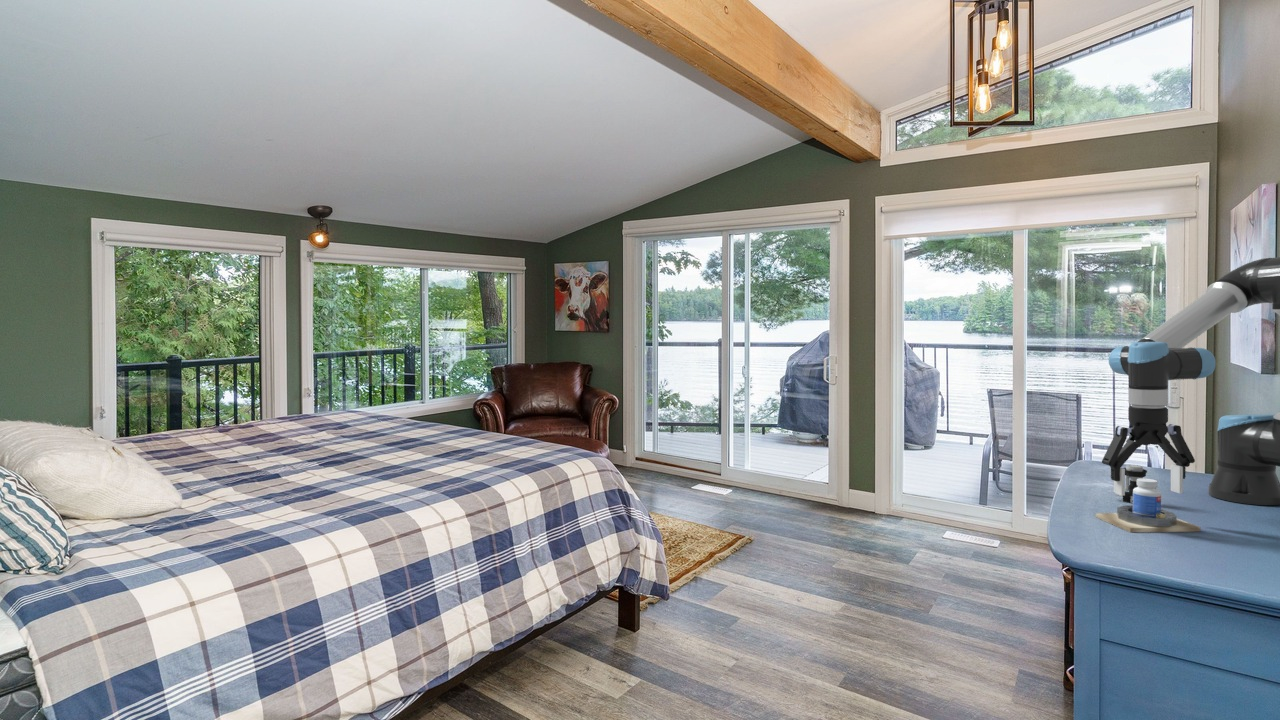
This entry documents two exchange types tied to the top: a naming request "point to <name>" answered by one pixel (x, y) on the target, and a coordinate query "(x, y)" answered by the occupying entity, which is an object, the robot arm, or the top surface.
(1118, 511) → the ring
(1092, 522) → the top surface
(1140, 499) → the pill bottle
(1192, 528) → the board
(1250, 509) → the top surface
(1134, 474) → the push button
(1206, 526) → the top surface
